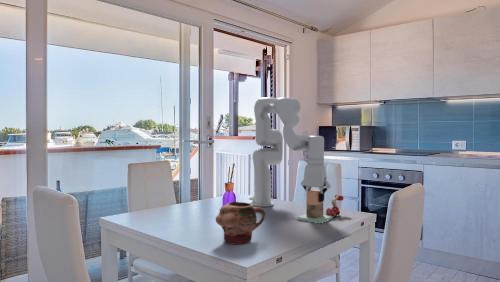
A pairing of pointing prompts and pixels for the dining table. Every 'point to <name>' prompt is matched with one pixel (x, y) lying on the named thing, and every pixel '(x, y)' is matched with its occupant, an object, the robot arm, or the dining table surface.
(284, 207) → the dining table surface
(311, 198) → the terracotta brick
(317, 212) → the walnut brick
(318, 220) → the board
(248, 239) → the brown sculpted mug
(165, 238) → the dining table surface
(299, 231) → the dining table surface
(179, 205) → the dining table surface
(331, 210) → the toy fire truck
